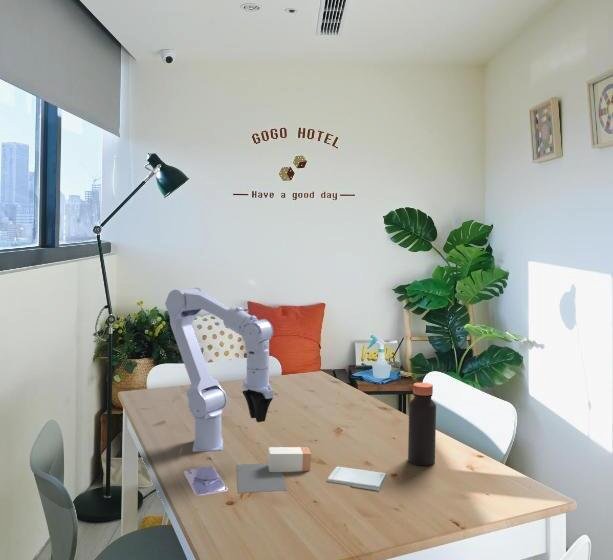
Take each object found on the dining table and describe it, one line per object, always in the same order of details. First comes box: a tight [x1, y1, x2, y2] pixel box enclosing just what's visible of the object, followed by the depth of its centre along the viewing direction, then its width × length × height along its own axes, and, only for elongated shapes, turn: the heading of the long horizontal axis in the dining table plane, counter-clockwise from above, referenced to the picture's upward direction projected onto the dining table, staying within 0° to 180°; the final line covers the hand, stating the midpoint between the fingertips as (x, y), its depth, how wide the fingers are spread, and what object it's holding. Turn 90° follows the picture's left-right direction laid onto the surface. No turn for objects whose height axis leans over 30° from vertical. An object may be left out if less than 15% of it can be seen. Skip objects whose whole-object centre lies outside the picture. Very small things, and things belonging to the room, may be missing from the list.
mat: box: [236, 462, 288, 494], centre depth 133 cm, size 16×11×1 cm
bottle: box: [407, 382, 437, 467], centre depth 143 cm, size 7×7×20 cm
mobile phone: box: [183, 466, 228, 496], centre depth 131 cm, size 8×1×15 cm
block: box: [267, 446, 312, 473], centre depth 138 cm, size 4×4×10 cm
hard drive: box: [326, 466, 388, 492], centre depth 132 cm, size 2×8×12 cm
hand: (257, 419), depth 144 cm, fingers open, 3 cm apart
